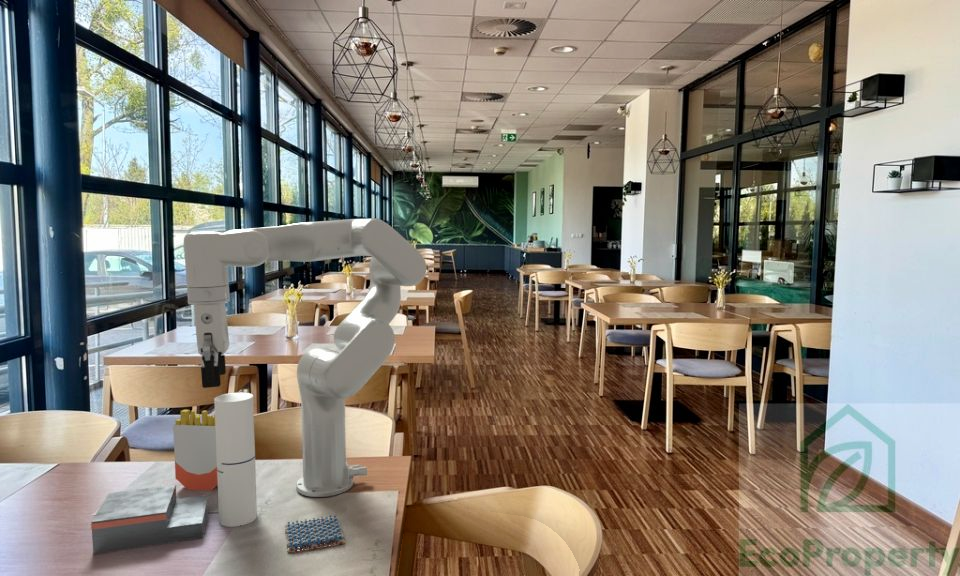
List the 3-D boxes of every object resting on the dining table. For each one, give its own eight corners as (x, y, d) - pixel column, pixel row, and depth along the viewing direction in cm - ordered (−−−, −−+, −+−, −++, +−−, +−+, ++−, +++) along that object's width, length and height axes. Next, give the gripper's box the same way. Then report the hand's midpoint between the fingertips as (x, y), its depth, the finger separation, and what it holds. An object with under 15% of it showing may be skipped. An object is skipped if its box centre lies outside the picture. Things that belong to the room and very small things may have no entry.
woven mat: (338, 522, 124) (338, 512, 124) (346, 547, 114) (345, 536, 114) (284, 530, 121) (283, 520, 120) (287, 557, 111) (286, 546, 110)
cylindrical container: (244, 528, 120) (239, 403, 118) (211, 524, 122) (206, 400, 119) (263, 512, 127) (260, 393, 125) (232, 508, 129) (228, 391, 126)
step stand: (208, 508, 129) (207, 481, 128) (202, 538, 116) (201, 508, 116) (110, 521, 123) (108, 492, 122) (92, 554, 110) (90, 522, 110)
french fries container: (187, 481, 143) (184, 405, 141) (232, 482, 142) (229, 406, 140) (175, 489, 139) (172, 410, 137) (222, 491, 138) (219, 412, 136)
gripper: (224, 299, 113) (230, 390, 115) (233, 289, 130) (238, 369, 132) (180, 301, 111) (187, 394, 113) (194, 291, 128) (200, 372, 130)
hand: (214, 380), depth 122 cm, fingers open, 9 cm apart
